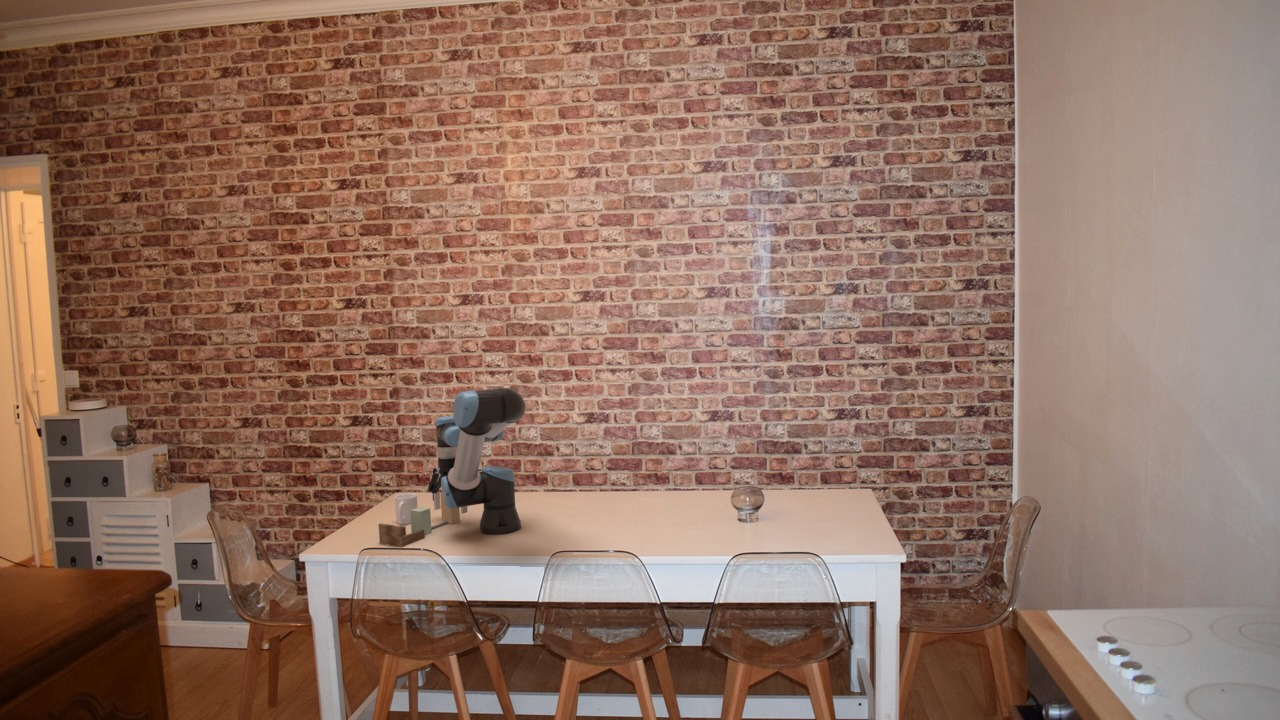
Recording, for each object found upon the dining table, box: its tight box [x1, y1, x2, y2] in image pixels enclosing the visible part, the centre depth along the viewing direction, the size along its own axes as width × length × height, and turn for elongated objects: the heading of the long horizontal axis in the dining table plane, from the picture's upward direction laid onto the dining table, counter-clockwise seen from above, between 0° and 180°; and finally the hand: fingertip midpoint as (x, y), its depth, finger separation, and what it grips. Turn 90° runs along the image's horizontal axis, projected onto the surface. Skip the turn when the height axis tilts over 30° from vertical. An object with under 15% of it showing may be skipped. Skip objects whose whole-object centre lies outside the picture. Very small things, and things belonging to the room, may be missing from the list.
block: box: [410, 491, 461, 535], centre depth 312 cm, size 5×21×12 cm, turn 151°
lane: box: [378, 522, 426, 548], centre depth 297 cm, size 10×12×7 cm
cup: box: [394, 492, 419, 525], centre depth 320 cm, size 8×12×10 cm
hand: (450, 511), depth 319 cm, fingers open, 13 cm apart
